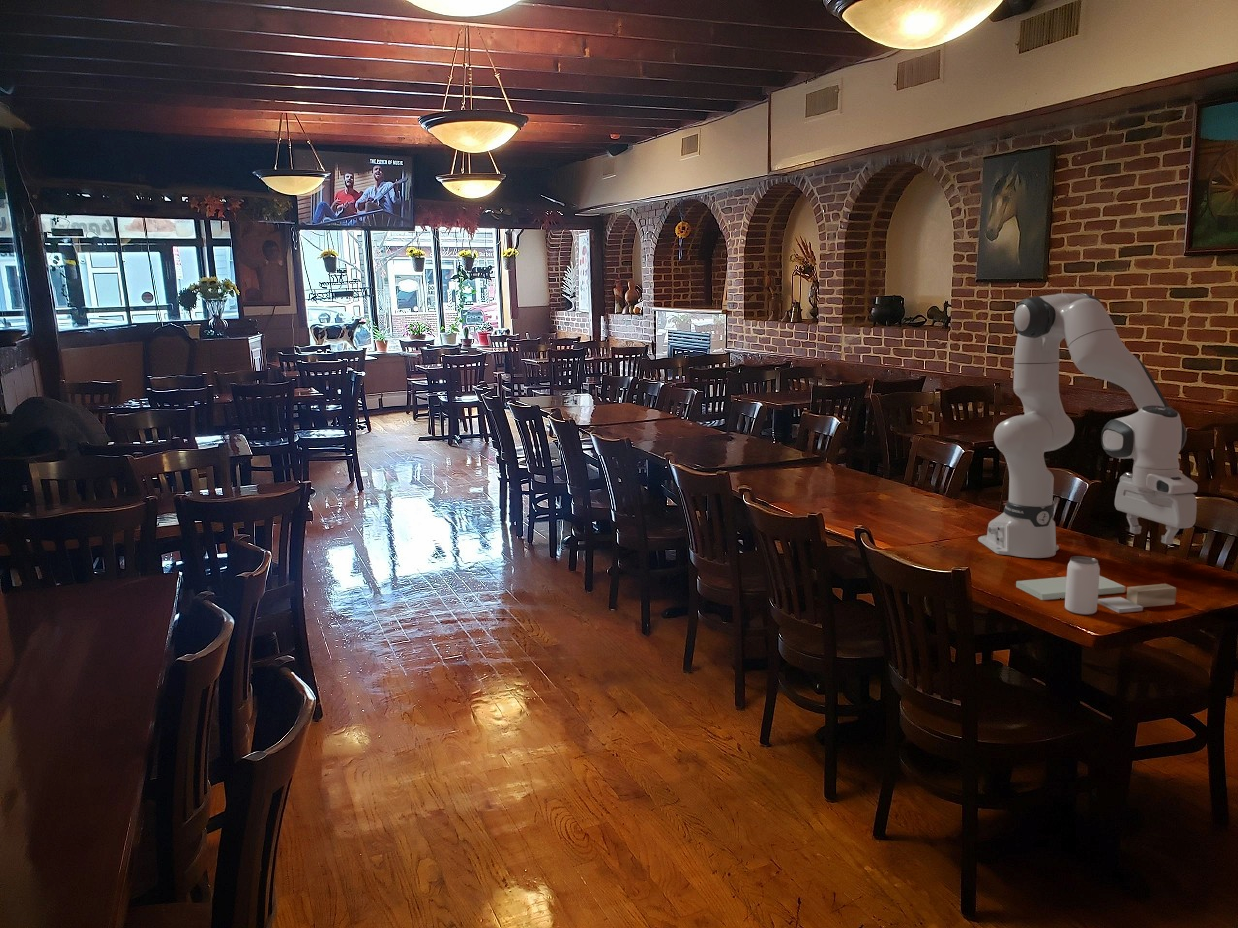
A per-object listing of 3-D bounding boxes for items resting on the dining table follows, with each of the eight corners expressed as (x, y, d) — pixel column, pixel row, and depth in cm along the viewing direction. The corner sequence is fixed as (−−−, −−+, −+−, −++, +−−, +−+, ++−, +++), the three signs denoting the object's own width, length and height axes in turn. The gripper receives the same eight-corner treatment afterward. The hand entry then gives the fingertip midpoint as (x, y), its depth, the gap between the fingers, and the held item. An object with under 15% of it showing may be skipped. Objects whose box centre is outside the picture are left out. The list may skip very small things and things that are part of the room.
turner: (1097, 602, 201) (1098, 586, 200) (1157, 597, 204) (1159, 580, 203) (1119, 613, 194) (1120, 596, 194) (1181, 607, 197) (1183, 590, 196)
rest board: (1016, 586, 213) (1016, 581, 213) (1095, 579, 217) (1096, 573, 217) (1042, 600, 204) (1042, 594, 203) (1124, 592, 207) (1125, 586, 207)
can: (1100, 615, 193) (1104, 564, 191) (1069, 614, 194) (1072, 563, 192) (1091, 606, 199) (1094, 556, 197) (1060, 604, 200) (1064, 555, 198)
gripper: (1109, 471, 203) (1105, 528, 206) (1178, 488, 184) (1173, 551, 186) (1133, 469, 204) (1129, 526, 207) (1204, 486, 184) (1199, 548, 187)
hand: (1150, 538), depth 196 cm, fingers open, 8 cm apart
